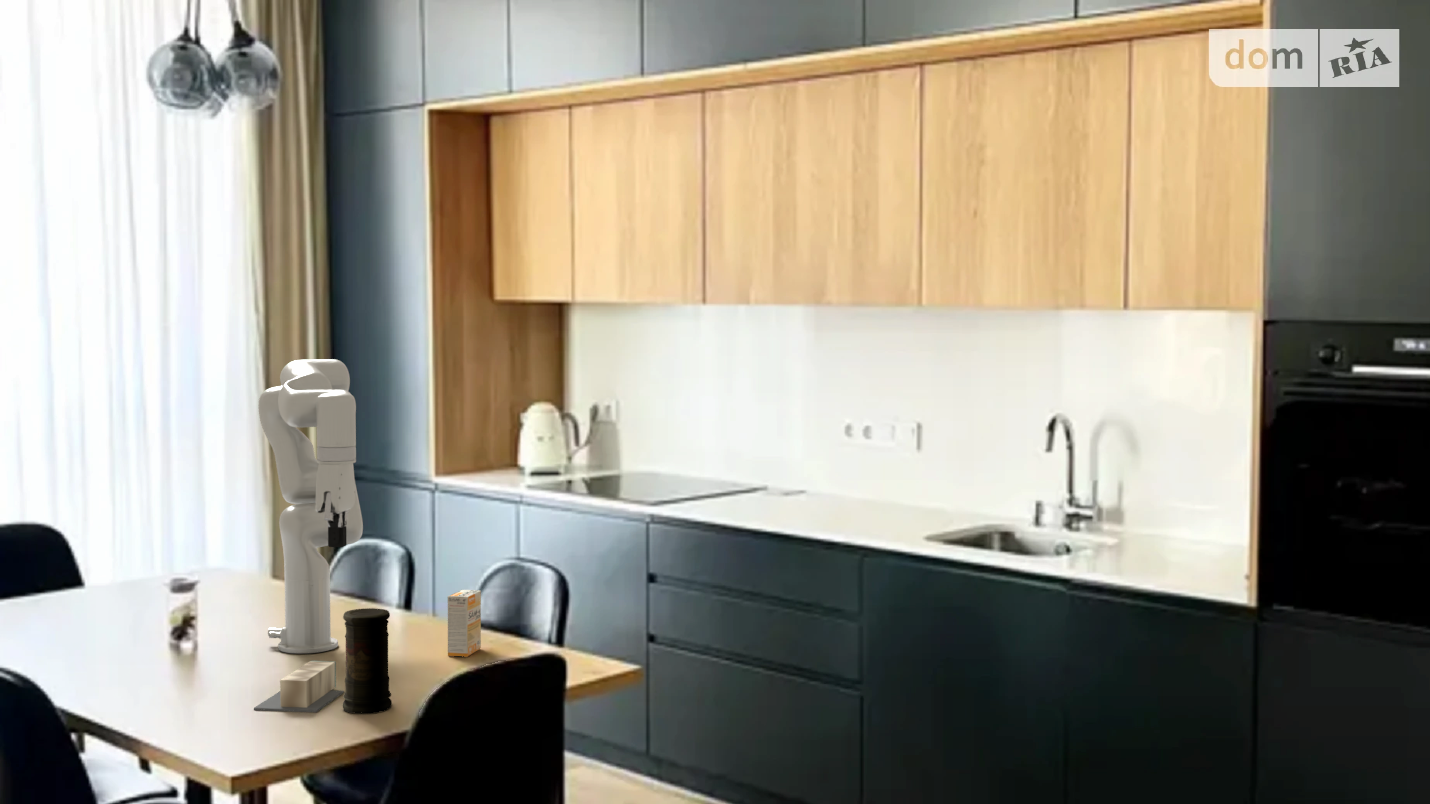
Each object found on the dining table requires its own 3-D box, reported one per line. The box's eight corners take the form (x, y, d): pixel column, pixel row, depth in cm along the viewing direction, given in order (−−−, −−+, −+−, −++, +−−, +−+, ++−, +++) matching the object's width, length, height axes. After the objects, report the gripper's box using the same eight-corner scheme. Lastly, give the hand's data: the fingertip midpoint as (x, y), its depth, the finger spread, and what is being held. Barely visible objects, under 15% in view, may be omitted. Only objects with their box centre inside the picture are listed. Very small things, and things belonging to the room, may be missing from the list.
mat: (253, 710, 273) (253, 707, 273) (284, 690, 287) (283, 688, 287) (316, 712, 272) (316, 710, 272) (343, 692, 286) (343, 690, 286)
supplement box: (468, 657, 314) (468, 596, 314) (447, 656, 315) (446, 595, 315) (482, 649, 322) (481, 589, 322) (461, 647, 323) (460, 588, 323)
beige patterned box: (311, 685, 289) (280, 706, 274) (310, 660, 289) (280, 679, 274) (336, 686, 288) (306, 707, 274) (335, 661, 288) (306, 680, 273)
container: (346, 701, 279) (345, 607, 278) (394, 701, 280) (394, 607, 279) (338, 715, 270) (337, 617, 269) (388, 714, 271) (387, 617, 270)
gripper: (332, 450, 302) (332, 539, 303) (303, 458, 287) (304, 552, 289) (367, 451, 301) (368, 540, 303) (341, 459, 286) (342, 553, 288)
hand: (337, 546), depth 296 cm, fingers closed
